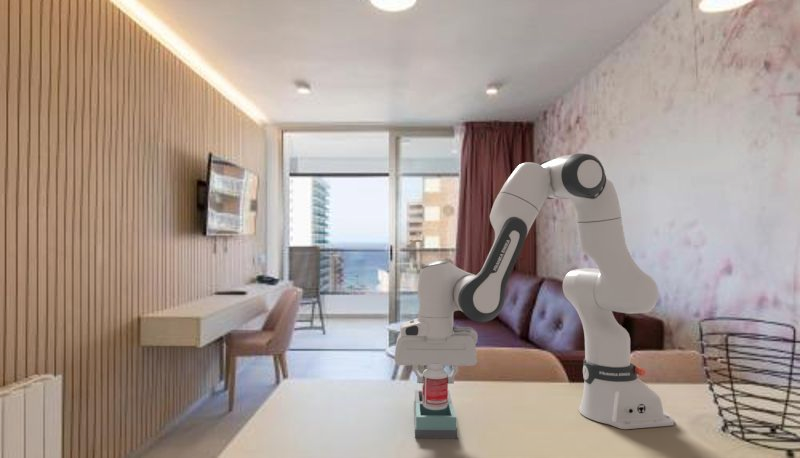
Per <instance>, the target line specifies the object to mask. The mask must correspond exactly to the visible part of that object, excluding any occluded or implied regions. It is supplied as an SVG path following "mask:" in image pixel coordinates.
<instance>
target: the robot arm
mask: <svg viewBox="0 0 800 458" xmlns="http://www.w3.org/2000/svg"><path fill="white" fill-rule="evenodd" d="M618 197H619V196H618V195H617V191H616V187H615V186H614V183H613V182H612V181H611V180H609V179H608V178H607V176H606V172H605V169H604V166H603V164H602V162H601V160H600V159H598V157H596V156H595V155H592V154H588V153H576V154H566V155H560V156H558V157H556V158H553V159H550V160H549V159H548V160H545V161H543V162H541V163H540V164H539V163H536V162H529V161H528V162H527V161H525V162H523V163H520V164H519V165H517V166H516V167H515V169H514V170H513V171H512V173H510V175H509V176H508V178H507V179H506V181H505V182H504V184H503V185H502V187H501V189H500V191H499V193H498V194H497V196H496V198H495V200H494V202H493V204H492V208H491V210H490V214H489V221H490V222H489V223H490V224H491V226H492V228H493V231H494V241H493V243H492V246H491V248H490V250H489V253H488V254H487V256H486V259H485V261H484V263H483V266H482V268H481V270H480V271H479V272H478V273H477V274H473V273H471V272H467V271H466V270H464V269H461V268H459V267H458V266H456V265H454V264H453V263H452V262H450V261H449V260H437V261H432V262H431V261H430V262H427V263H426V264H424V265H423V266H422V267H421V268H420V271H419V274H418V284H417V298H418V299H417V300H418V302H419V303H418V305H419V306H418V311H417V318H415V319H411V320H408V321H405V322H402V323H401V324H400V326H399V332H400V334H399V335H398V336H397V339H396V344H395V350H394V362H395V364H396V365H397V366H412V371H413V373H414V375H415V377H416V383H417V384H422V383H423V373H419V371H418V370H419V366H426V365H429V364H430V363H442V365H443V366H445V367H446V366H448V367H452V371H451V373H450V374H448V385H449V384H451V385H452V384H453V385H454V383H455V377H456V375H457V374H458V371H459V367H465V366H467V367H473V366H475V365H476V364H477V362H478V357H477V356H478V355H477V348H476V344H477V343H478V334H479V333H478V332H477V330H476V329H474V328H472V327H471V326H465V327H464V326H454V314H455V312H457V311H461V312H462V313H463V314H464V315H465V316H466V317H467V318H468V319H470V320H471V321H473V322H477V323H487V322H490V321H492V320H494V319H495V318H496V317H497V316H498V315H499V314H500V313H501V311H502V310H503V307H504V304H505V295H506V287H507V284H508V280H509V278H510V276H511V274H512V271H513V269H514V267H515V264H517V263H516V262H517V260H518V258H519V256H520V253H521V251H522V249H523V246H524V243H525V240H526V238H527V237H528V234H529V231H531V230H530V229H531V227H532V225H533V224H534V222H535V220H536V218H537V217H538V215H539V213H540V211H541V209H542V207H543V205H544V202H545V201H546V200H547V199H549V200H554V199H556V200H568V199H570V200H571V202H572V204H573V205H574V209H575V220H576V229H577V236H578V237H577V238H578V245H579V249H580V250H581V252H582V253H583V254H584V255H586V256H587V257H588V258H590V259H591V260H592V261H593V263H594V264H595V265H596V266H597V268H593V267H584V268H576V269H572V270H569V272H567V273H566V275H565V276H564V278H563V281H562V292H563V296H564V297H565V298H566V299H567V300H568V301H569V302H570V304H572V306H573V307H574V309H575V310H576V312H577V314H578V316H579V319H580V321H581V324H582V328H583V334H584V336H583V337H584V358H583V367H582V375H583V376H582V377H583V380H584V382H583V391H582V395H581V396H582V397H581V401H580V405H579V407H578V411H579V413H580V414H581V415H582V416H583V417H585V418H587V419H589V420H591V421H595V422H598V423H602V424H606V425H610V426H612V427H615V428H618V429H621V430H630V429H632V430H634V429H643V428H657V427H670V426H674V424H675V423H674V418H673V417H672V416H671V415H670V414H669V412H666V410H664V407H663V402H662V399H661V397H660V396H659V395H658V393H657V392H656V391H655V390H653V389H652V388H651V387H650V386H649V385H648V384H646V383H645V382H644V381H642V380H641V379H639V377H644V376H645V375H646V374H647V371H646V370H645V369H644V368H643V367H642V366H637V365H635V364H634V363H632V362H631V337H630V333H629V332H628V331H627V329H626V328H625V327H623V326H622V324H619V322H618V321H617V319H616V318H615V315H614V313H613V312H616V313H622V314H629V315H630V314H631V315H632V314H644V313H645V314H646V313H649V312H650V311H652V310H653V309H654V308H655V306H656V305H657V302H658V300H659V289H658V286H657V283H656V281H655V280H654V278H653V277H651V276H650V275H648V274H647V273H646V272H645V271H644V270H643V269H641V268H640V267H639V266H638V264H637V262H636V261H635V260H634V259H633V257H632V256H631V254H630V252H629V249H628V246H627V243H626V239H625V233H624V227H623V220H622V219H623V218H622V213H621V206H620V201H619V198H618ZM638 375H639V377H638Z"/></svg>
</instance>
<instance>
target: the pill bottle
mask: <svg viewBox="0 0 800 458" xmlns="http://www.w3.org/2000/svg"><path fill="white" fill-rule="evenodd" d="M425 368H426V369H424V370H423V372H422V374H423V406H424V407H425V408H427V409H429V410H442V409H445V408H446V407H447V405H448V390H449V387H448V386H449V384H448V375H449V373H448V371H447V370H446V366H443V365H442V363H430V364H429V365H425Z"/></svg>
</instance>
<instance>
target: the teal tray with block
mask: <svg viewBox="0 0 800 458" xmlns="http://www.w3.org/2000/svg"><path fill="white" fill-rule="evenodd" d="M413 416H414V417H413V418H414V419H413V423H414V438H415V439H458V427H457V416H456V410H455V407H454V404H453V400H452V397H451V393H450V390H449V389H448V405H447V407H446V408H445V409H442V410H429V409H427V408H425V407H424V406H423V383H421V389H414V401H413Z"/></svg>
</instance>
